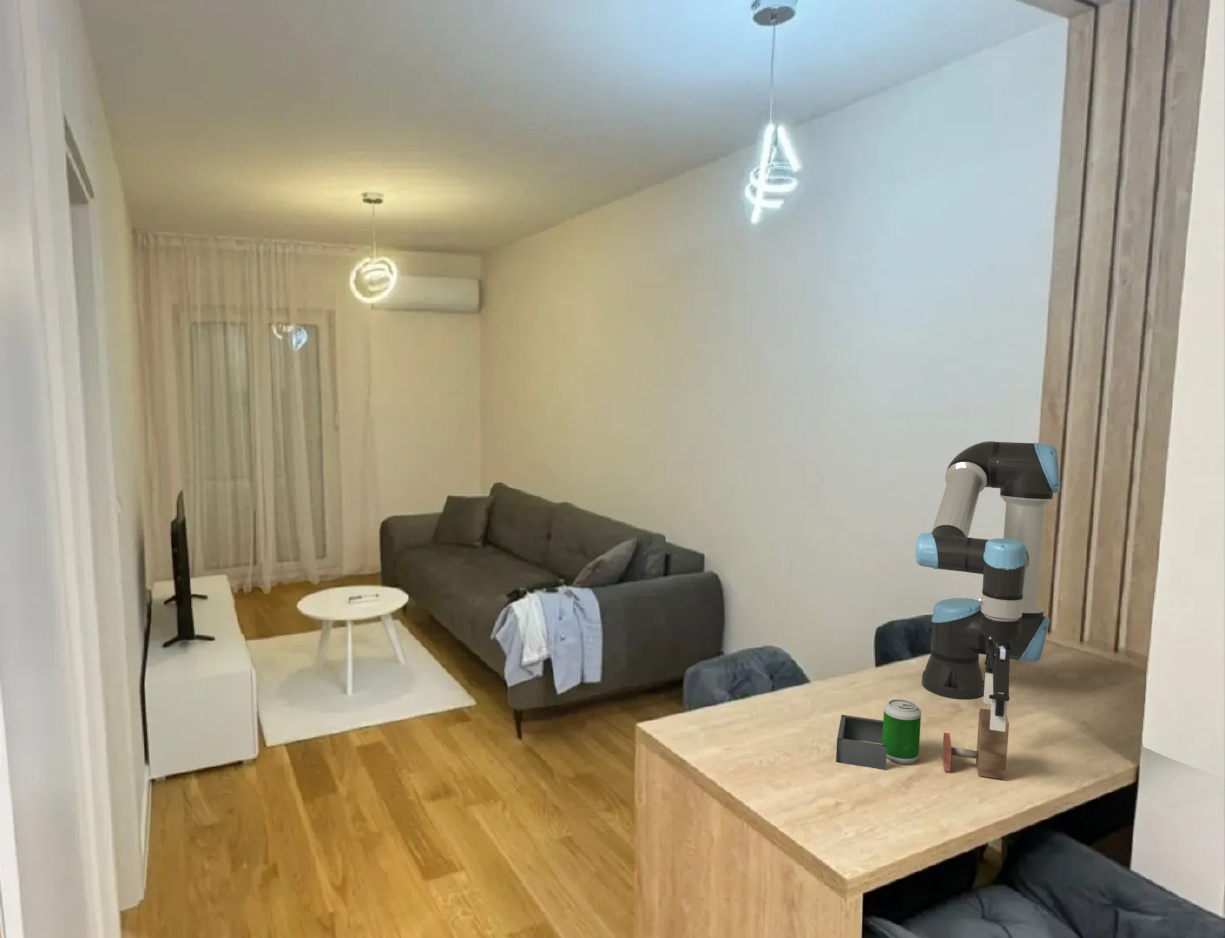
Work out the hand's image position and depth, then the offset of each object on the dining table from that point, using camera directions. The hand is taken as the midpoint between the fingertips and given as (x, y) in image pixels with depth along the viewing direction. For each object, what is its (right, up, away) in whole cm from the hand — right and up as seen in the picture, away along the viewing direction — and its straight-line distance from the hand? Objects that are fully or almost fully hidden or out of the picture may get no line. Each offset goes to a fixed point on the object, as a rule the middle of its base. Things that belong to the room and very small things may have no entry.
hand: (993, 716), depth 166 cm
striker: (-3, -12, +3) cm, 12 cm away
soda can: (-16, -12, +8) cm, 22 cm away
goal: (-24, -11, +10) cm, 28 cm away
